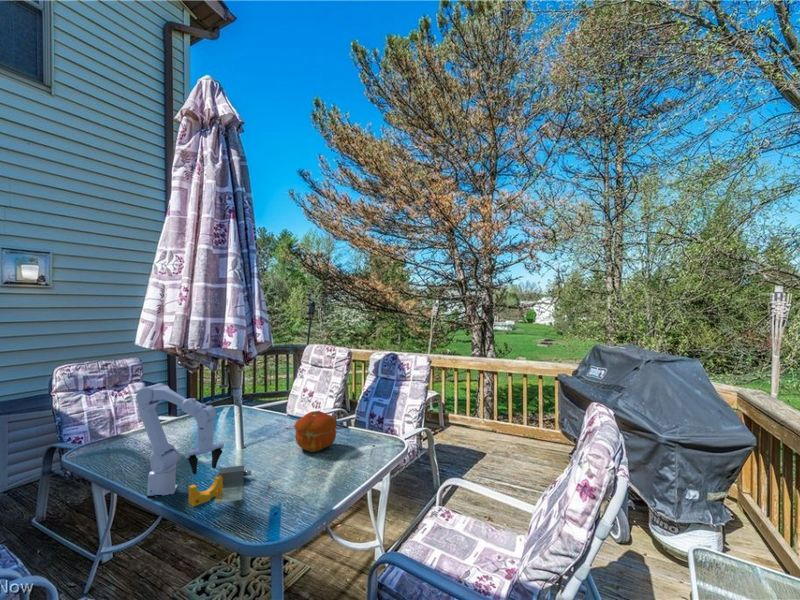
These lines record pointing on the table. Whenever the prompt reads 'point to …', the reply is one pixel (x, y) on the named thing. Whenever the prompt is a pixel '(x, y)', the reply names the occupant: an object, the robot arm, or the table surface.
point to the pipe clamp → (205, 492)
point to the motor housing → (231, 483)
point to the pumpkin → (315, 431)
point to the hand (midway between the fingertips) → (204, 470)
